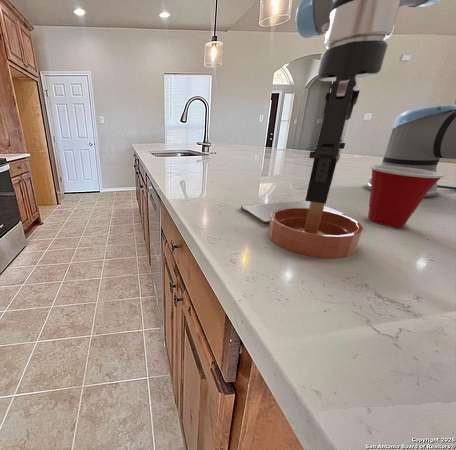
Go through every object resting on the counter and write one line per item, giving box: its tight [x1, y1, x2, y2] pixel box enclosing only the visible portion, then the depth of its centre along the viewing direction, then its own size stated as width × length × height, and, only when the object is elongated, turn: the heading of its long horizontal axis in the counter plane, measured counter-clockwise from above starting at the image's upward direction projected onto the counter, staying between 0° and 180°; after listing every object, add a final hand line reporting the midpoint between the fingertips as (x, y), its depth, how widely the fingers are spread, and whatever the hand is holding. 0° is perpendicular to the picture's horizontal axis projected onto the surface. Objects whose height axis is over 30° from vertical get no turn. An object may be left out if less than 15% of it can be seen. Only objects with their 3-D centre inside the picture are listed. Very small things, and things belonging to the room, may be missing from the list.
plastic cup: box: [367, 164, 445, 229], centre depth 51 cm, size 11×11×12 cm
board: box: [240, 200, 346, 225], centre depth 60 cm, size 20×11×1 cm, turn 99°
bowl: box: [267, 208, 364, 259], centre depth 46 cm, size 14×14×4 cm
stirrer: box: [297, 151, 341, 235], centre depth 43 cm, size 5×5×17 cm
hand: (319, 191), depth 43 cm, fingers open, 13 cm apart
